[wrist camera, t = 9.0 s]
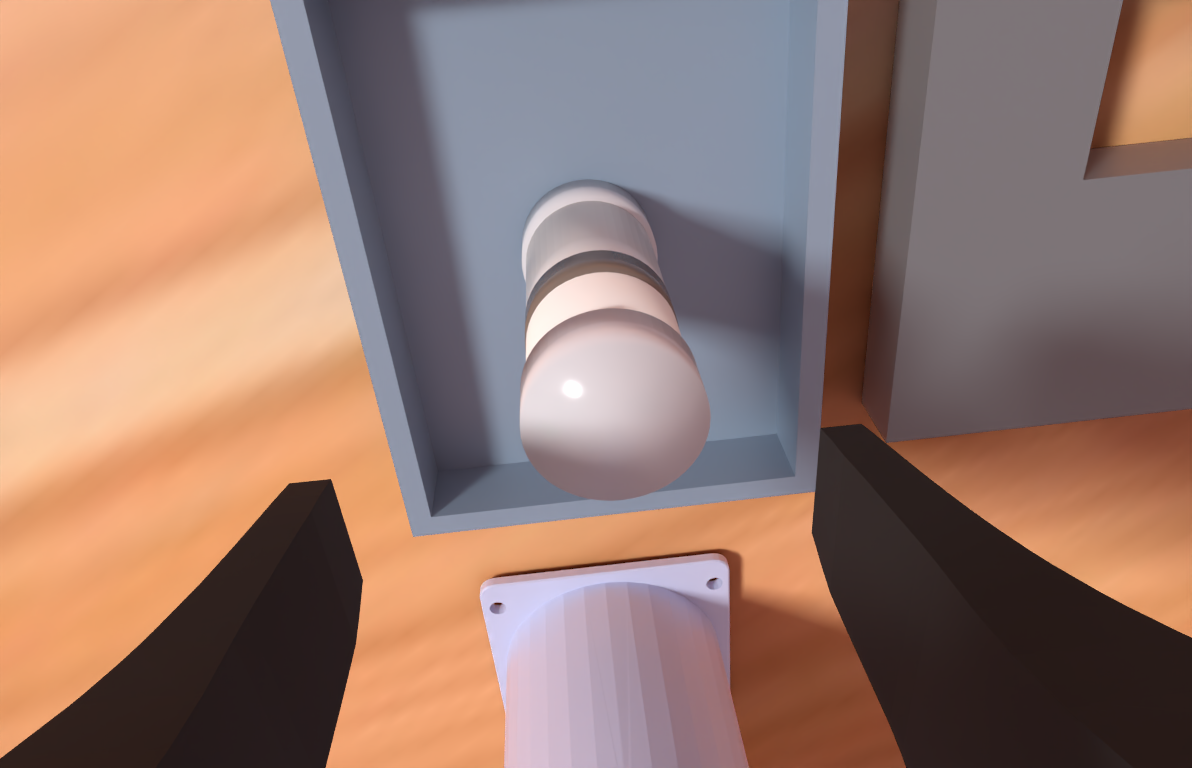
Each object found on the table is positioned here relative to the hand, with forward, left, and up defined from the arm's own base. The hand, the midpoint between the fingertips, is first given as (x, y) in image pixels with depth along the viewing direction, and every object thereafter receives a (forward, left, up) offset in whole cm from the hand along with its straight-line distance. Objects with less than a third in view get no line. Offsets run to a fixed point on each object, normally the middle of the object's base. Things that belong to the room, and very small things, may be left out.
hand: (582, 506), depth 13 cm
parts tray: (0, -1, -10) cm, 10 cm away
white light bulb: (0, -1, -10) cm, 10 cm away
